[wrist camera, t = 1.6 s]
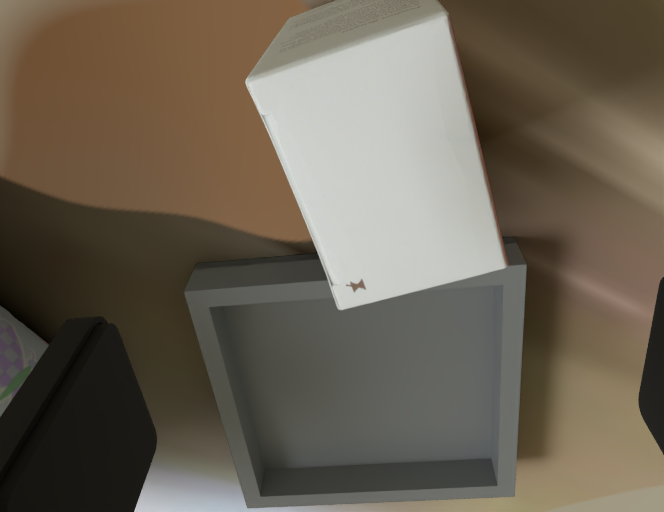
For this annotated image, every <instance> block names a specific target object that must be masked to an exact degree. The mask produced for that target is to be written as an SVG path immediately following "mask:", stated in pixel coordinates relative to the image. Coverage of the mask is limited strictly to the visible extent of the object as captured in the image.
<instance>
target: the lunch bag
mask: <svg viewBox="0 0 664 512" xmlns="http://www.w3.org/2000/svg"><path fill="white" fill-rule="evenodd" d="M48 346H49V344H47V343H46V342H45V341H44V340H43V339H41V338H40V337H39V336H38V335H36V334H35V333H34V332H33V331H31V330H30V329H29V328H28V327H26V326H25V325H24V324H23V323H21V322H20V321H18V320H17V319H16V318H14V317H13V316H12V315H11V314H10V312H8V311H7V310H6V309H4V308H3V307H1V306H0V416H1V415H2V414H3V412H4V411H5V409H6V408H7V406H8V405H9V403H10V402H11V400H12V399H13V397H14V396H15V394H16V393H17V392H18V390H19V389H20V387H21V386H22V384H23V383H24V381H25V380H26V378H27V377H28V375H29V374H30V372H31V371H32V370H33V368H34V367H35V365H36V364H37V362H38V361H39V359H40V358H41V356H42V355H43V353H44V352H45V350H46V349H47V348H48Z"/></svg>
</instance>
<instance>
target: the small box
mask: <svg viewBox="0 0 664 512" xmlns="http://www.w3.org/2000/svg"><path fill="white" fill-rule="evenodd" d="M245 83H246V86H247V88H248V91H249V92H250V95H251V97H252V99H253V101H254V103H255V105H256V107H257V109H258V111H259V113H260V115H261V118H262V120H263V122H264V124H265V127H266V129H267V131H268V133H269V136H270V138H271V140H272V143H273V145H274V147H275V150H276V152H277V154H278V157H279V159H280V162H281V164H282V167H283V169H284V171H285V174H286V176H287V179H288V181H289V184H290V186H291V188H292V191H293V193H294V195H295V198H296V200H297V203H298V205H299V207H300V210H301V213H302V215H303V218H304V220H305V222H306V225H307V227H308V230H309V232H310V235H311V237H312V240H313V242H314V245H315V247H316V250H317V252H318V255H319V258H320V260H321V263H322V265H323V268H324V271H325V273H326V276H327V279H328V282H329V285H330V288H331V291H332V294H333V297H334V300H335V302H336V306H337V308H338V309H339V310H344V309H348V308H352V307H356V306H360V305H364V304H368V303H373V302H377V301H380V300H384V299H388V298H392V297H396V296H400V295H404V294H408V293H412V292H416V291H420V290H424V289H427V288H431V287H435V286H439V285H443V284H447V283H451V282H455V281H459V280H463V279H467V278H471V277H474V276H478V275H482V274H486V273H489V272H492V271H496V270H501V269H504V268H506V267H507V266H508V260H507V257H506V252H505V248H504V243H503V239H502V235H501V231H500V227H499V222H498V218H497V214H496V209H495V205H494V201H493V196H492V192H491V188H490V184H489V179H488V175H487V171H486V167H485V162H484V158H483V154H482V150H481V145H480V141H479V137H478V132H477V128H476V123H475V119H474V115H473V111H472V107H471V103H470V99H469V95H468V91H467V86H466V82H465V78H464V74H463V69H462V65H461V61H460V57H459V52H458V48H457V44H456V40H455V36H454V31H453V27H452V23H451V18H450V14H449V12H448V11H447V10H446V9H445V7H444V6H443V5H442V4H441V3H440V2H439V0H335V1H333V2H330V3H327V4H324V5H322V6H319V7H316V8H314V9H311V10H308V11H306V12H303V13H301V14H298V15H296V16H293V17H291V18H289V19H288V20H287V22H286V23H285V25H284V26H283V27H282V29H281V30H280V31H279V33H278V34H277V36H276V37H275V39H274V40H273V41H272V43H271V44H270V46H269V47H268V48H267V50H266V51H265V53H264V54H263V55H262V57H261V58H260V60H259V61H258V63H257V64H256V66H255V67H254V68H253V70H252V71H251V73H250V74H249V75H248V77H247V78H246V82H245Z"/></svg>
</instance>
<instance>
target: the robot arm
mask: <svg viewBox="0 0 664 512" xmlns="http://www.w3.org/2000/svg"><path fill="white" fill-rule="evenodd" d="M638 400H639V408H640V412H641V415H642V417H643V419H644V421H645V423H646V425H647V426H648V428H649V430H650V432H651V433H652V435H653V437H654V439H655V440H656V442H657V444H658V446H659V447H660V449H661V451H662V452H663V454H664V277H663V278H662V279H661V281H660V284H659V289H658V294H657V300H656V305H655V311H654V316H653V321H652V327H651V332H650V338H649V343H648V348H647V354H646V359H645V365H644V370H643V375H642V381H641V386H640V392H639V399H638ZM156 445H157V436H156V430H155V427H154V425H153V422H152V419H151V417H150V414H149V411H148V409H147V406H146V403H145V401H144V398H143V395H142V393H141V390H140V387H139V385H138V382H137V379H136V377H135V374H134V371H133V369H132V366H131V363H130V361H129V358H128V355H127V353H126V350H125V347H124V344H123V342H122V339H121V336H120V334H119V331H118V329H117V327H116V326H115V325H114V324H112V323H111V324H108V323H107V321H106V320H105V319H104V318H103V317H100V316H98V317H87V318H75V319H69V320H67V321H66V322H65V323H64V324H63V326H62V327H61V328H60V330H59V331H58V333H57V334H56V336H55V337H54V339H53V340H52V342H51V343H50V345H49V346H48V348H47V349H46V350H45V352H44V353H43V355H42V356H41V358H40V359H39V361H38V362H37V364H36V365H35V367H34V368H33V370H32V371H31V372H30V374H29V375H28V377H27V378H26V380H25V381H24V383H23V384H22V386H21V387H20V389H19V390H18V392H17V393H16V394H15V396H14V397H13V399H12V400H11V402H10V403H9V405H8V406H7V408H6V409H5V411H4V412H3V414H2V415H1V416H0V512H134V510H135V507H136V504H137V502H138V499H139V496H140V493H141V490H142V487H143V485H144V482H145V479H146V476H147V473H148V470H149V468H150V465H151V462H152V459H153V456H154V454H155V450H156Z"/></svg>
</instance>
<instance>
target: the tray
mask: <svg viewBox="0 0 664 512" xmlns="http://www.w3.org/2000/svg"><path fill="white" fill-rule="evenodd" d="M502 239H503V243H504V248H505V252H506V257H507V260H508V266H507V267H506V268H504V269H501V270H496V271H492V272H489V273H486V274H482V275H478V276H474V277H471V278H467V279H463V280H459V281H455V282H451V283H447V284H443V285H439V286H435V287H431V288H427V289H424V290H420V291H416V292H412V293H408V294H404V295H400V296H396V297H392V298H388V299H384V300H380V301H377V302H373V303H368V304H364V305H360V306H356V307H352V308H348V309H344V310H339V309H338V308H337V306H336V302H335V300H334V297H333V294H332V291H331V288H330V285H329V282H328V279H327V276H326V273H325V271H324V268H323V265H322V263H321V260H320V258H319V255H318V253H315V254H303V255H291V256H279V257H267V258H256V259H244V260H232V261H220V262H208V263H197V264H196V266H195V268H194V270H193V272H192V275H191V277H190V279H189V281H188V283H187V286H186V288H185V290H184V294H185V298H186V301H187V305H188V308H189V311H190V315H191V318H192V322H193V325H194V328H195V332H196V335H197V339H198V342H199V345H200V349H201V352H202V356H203V359H204V362H205V366H206V369H207V372H208V376H209V379H210V383H211V386H212V389H213V393H214V396H215V400H216V403H217V406H218V410H219V413H220V417H221V420H222V423H223V427H224V430H225V434H226V437H227V440H228V444H229V447H230V451H231V454H232V457H233V461H234V464H235V468H236V471H237V474H238V478H239V481H240V485H241V488H242V491H243V495H244V498H245V502H246V505H247V508H265V507H288V506H310V505H333V504H356V503H379V502H402V501H425V500H447V499H470V498H493V497H515V480H516V461H517V442H518V422H519V403H520V384H521V365H522V345H523V326H524V307H525V288H526V268H527V264H526V262H525V260H524V258H523V255H522V253H521V251H520V249H519V247H518V245H517V242H516V240H515V238H514V237H505V238H502Z"/></svg>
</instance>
